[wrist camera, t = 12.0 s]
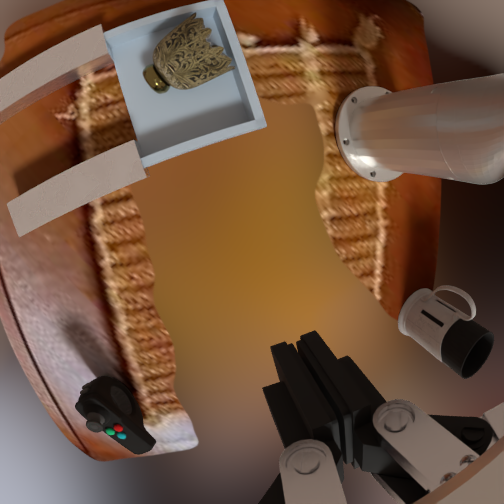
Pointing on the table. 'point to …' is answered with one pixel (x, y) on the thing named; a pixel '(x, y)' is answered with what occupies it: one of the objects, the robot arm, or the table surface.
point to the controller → (114, 413)
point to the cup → (186, 58)
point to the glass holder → (446, 330)
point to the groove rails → (88, 172)
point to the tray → (184, 101)
